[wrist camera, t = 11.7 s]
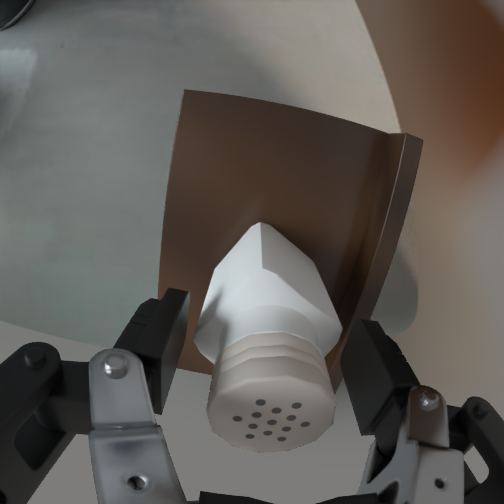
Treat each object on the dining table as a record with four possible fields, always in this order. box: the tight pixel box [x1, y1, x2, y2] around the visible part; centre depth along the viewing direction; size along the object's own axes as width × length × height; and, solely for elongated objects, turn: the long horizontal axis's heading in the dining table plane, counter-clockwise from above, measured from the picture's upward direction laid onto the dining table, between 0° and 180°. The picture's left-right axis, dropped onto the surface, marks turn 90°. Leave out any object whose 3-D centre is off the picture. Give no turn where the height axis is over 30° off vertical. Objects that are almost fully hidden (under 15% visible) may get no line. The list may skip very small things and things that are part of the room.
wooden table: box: [158, 90, 423, 395], centre depth 19 cm, size 16×11×12 cm
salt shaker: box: [194, 222, 342, 453], centre depth 11 cm, size 4×4×10 cm
